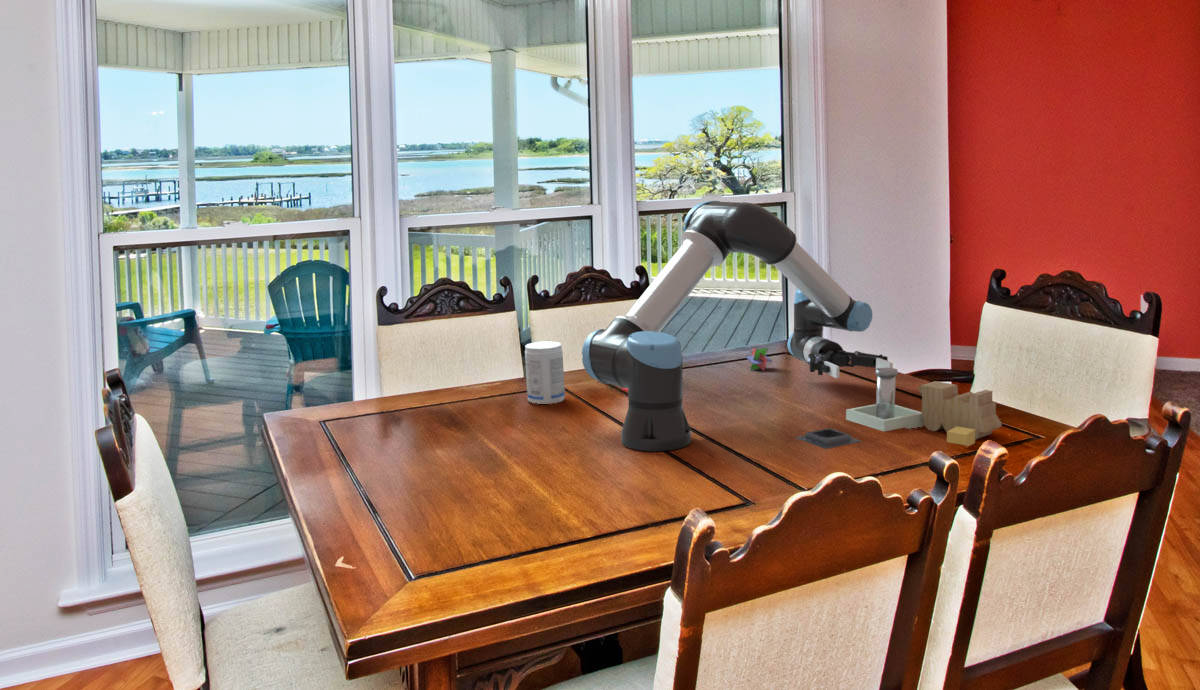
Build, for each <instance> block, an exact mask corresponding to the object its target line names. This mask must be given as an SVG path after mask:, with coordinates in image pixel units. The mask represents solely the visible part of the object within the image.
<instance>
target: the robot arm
mask: <svg viewBox="0 0 1200 690" xmlns="http://www.w3.org/2000/svg"><path fill="white" fill-rule="evenodd" d="M683 223H684V226H683V227H682V231H683V233H682V235H681V242H682V244H681V246H680V247H679V248H678V249H677V250H676V252H675V253H674V254H673V256H672V257H671V258H670V259H669V260H668V262H667V263H666V264H665V265H664V266H663V268H662V269H661V270H660V272H658V274H657V275H656V277H655V278H654V279H653V280H652V281H651V283H650V284H649V285H648V287H647V288H646V289H645V290H644V291H643V293H642V294H641V295H640V297H639V298H638V299H637V300H636V302H635V303H634V304H633V305H632V306H631V307H630V309H629V310H628V312H627V313H626V314H625V315H619V316H618V315H617V316H616V317H614V319H612V321H611V322H610V323H609V325H608V326H607V327H606V328H604V329H603V328H602V329H596V330H594V331H592V332H591V333H589V335H588V336H587V337H586V338H585V340H584V342H583V344H582V350H581V355H582V359H581V360H582V361H581V362H582V365H583V368H584V370H585V372H586V373H587V374H588V375H589V376H590V378H592V379H593V380H596V381H599V382H600V383H602V384H606V385H611V386H615V387H619V388H622V389H623V388H627V389H628V392H627V393H628V397H627V398H628V399H627V400H628V407H627V412H626V415H625V417H624V422H623V425H622V429H621V431H620V436H621V437H620V440H621V441H620V442H621V444H622V445H623V446H624V447H626V448H629V449H632V450H636V451H645V452H667V451H666V450H668V451H673V450H678V449H683V448H685V447H687V446H689V445H690V444H691V443H692V431H691V428H690V425H689V421H688V419H687V417H686V413H685V410H684V406H683V364H684V362H683V359H684V357H683V353H682V352H683V351H682V344H681V342H680V340H679V339H678V338H677V337H675V336H674V335H671V334H669V333H665V332H661V331H662V330H663V329H664V328H665V327H666V326H667V324H668V322H669V321H670V320H671V318H673V316H674V315H675V314H676V312H678V310H679V308H680V307H681V306H682V305H683V303H684V302H685V301H686V299H687V298H688V296H689V295H691V293H692V292H693V290H694V289H695V288H696V287H697V285H698V284H699V283H700V282H701V280H702V279H703V277H704V276H705V275H706V274H707V272H708V271H709V270H710V269H711V267H719V266H721V265H722V264H723V262H724V261H725V260H726V259H727V257H728V255H730V254H731V253H738V254H739V253H740V254H741V253H742V254H748V255H751V256H753V257H756V258H758V259H760V260H761V261H762V262H763V263H765V264H766V265H768V266H769V265H770V266H774V267H775V269H777V270H778V271H779V272H780V273H781V274H783V276H784V277H786V279H787V280H788V281H789V282H791V283H792V284H793V286H795V287H796V288H797V289H795V292H794V303H793V332H792V333H791V334H790V336H789V337H788V340H787V346H786V347H787V350H788V352H789V353H790V355H791V356H793V357H795V358H796V359H797V360H799V361H802V362H805V363H807V365H809V372H810V373H815V372H816V371H817V376H822V375H823V376H824V374H826V375H828V376H831V377H833V378H835V379H839V378H840V368H844V367H848V368H854V367H855V366H857V367H865V368H866V367H868V368H875V369H876V368H894V365H893V364H894V362H892V361H889V360H888V358H889V357H888V356H885V355H883V354H882V353H881V354H879V355H878V354H873V353H866V352H861V351H858V350H855V351H853V352H851V351H846V350H844V348H843V347H842V346H841V344H839V343H838V342H835V341H833V340H831V339H828V338H825V337H823V336H824V335H823V334H824V333H823V332H824V328H830V329H836V330H843V331H847V332H851V333H852V332H857V333H858V332H864V331H866V330H867V329H868V328H869V327H870V325H871V323H872V321H873V310H872V307H871V306H870V304H869V303H867V302H865V301H861V300H857V301H856V300H855V299H854V298H852V297H851V296H850V295H849V294H848V293H847V292H846V291H845V290H844V289H843V288H842V287H841V286H840V285H839V283H838V282H836V281H835V279H834V278H833V277H831V276H830V275H829V274H828V272H826V271H825V269H824V268H823V267H821V265H819V263H818V262H817V261H816V260H815V259H814V258H813V257H812V256H811V255H810V254H809V253H808V252H807V251H806V250H805V249H804V248H803V247H802V246H801V244H799V243H798V242H797V236H796V233H794V231H793V230H792V229H791V228H790V227H789V226H788V225H787V224H786V223H785V222H783V221H782V220H781V219H780V218H779V217H777V216H776V215H775V214H773V213H772V212H771V211H770V210H768V209H766V208H765V207H763V206H761V205H759V204H756V203H752V202H735V201H734V202H733V201H720V200H710V201H702V202H700V203H698V204H695V205H694V206H693V207H692V208H691V209H690V210H689V211H688V212H687V214H686V215H685V218H684V220H683Z"/></svg>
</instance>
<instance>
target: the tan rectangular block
mask: <svg viewBox="0 0 1200 690" xmlns="http://www.w3.org/2000/svg"><path fill="white" fill-rule="evenodd" d="M946 443H948V444H949V443H950V444H956V445H961V446H964V447H968V446H969V447H971V446H973V445H975V443H976V440H975V429H970V428H964V427H958V426H957V427H955V428H953V429H951V430H949V431H947V432H946ZM972 444H973V445H972ZM970 445H971V446H970Z"/></svg>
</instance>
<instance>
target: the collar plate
mask: <svg viewBox="0 0 1200 690" xmlns="http://www.w3.org/2000/svg"><path fill="white" fill-rule="evenodd" d="M794 439H796V440H800V441H803V442H806V443H807V444H808V443H809V444H811V445H813V446H816V447H819V448H821V449H825V450H827V449H832V448H837V447H842V446H846V445H851V444H856V443H862V442H863V441H862V440H860V439H857V438H855V437H852V435H851V434H850V433H846V432H843V431H839V430H836V429H833V428H831V427H828V428H824V429H819V430H812V431H809V432H807V431H806V432H805V435H801V436H796V437H795V436H794Z"/></svg>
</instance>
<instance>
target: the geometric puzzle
mask: <svg viewBox="0 0 1200 690" xmlns="http://www.w3.org/2000/svg"><path fill="white" fill-rule="evenodd" d="M768 349H769V348H768V347H763V348H762V347H755V346H753V347H752V349H751V350H750V355H746V356H744V357H745V359H746V360H748V361H749V363H750V367H749V366H748V368H749V370H750V369H751V370H750V371H753V370H752V369H754V370H760V371H762V372H765V370H766V369H768V367H767V365H769V364H772V362H773V361H774V360H772V358H771V359H770V358H769V356H768V355H769V354H768V353H769V350H768ZM766 354H767V355H766ZM748 361H746V362H747V364H749V363H748ZM767 363H768V364H767ZM759 368H760V369H759Z"/></svg>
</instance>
